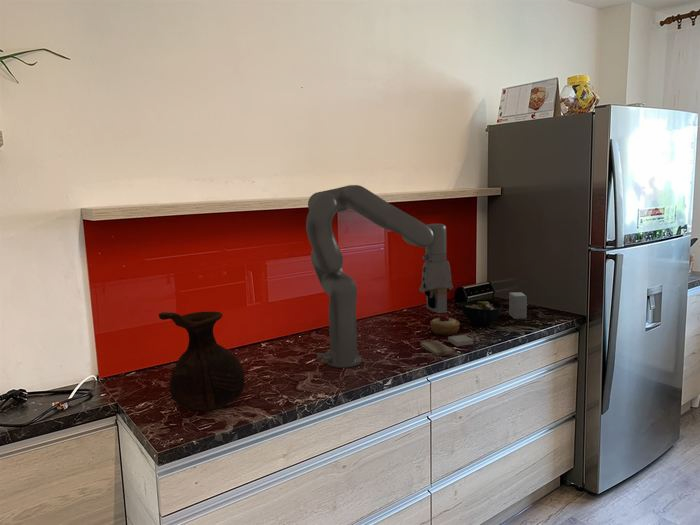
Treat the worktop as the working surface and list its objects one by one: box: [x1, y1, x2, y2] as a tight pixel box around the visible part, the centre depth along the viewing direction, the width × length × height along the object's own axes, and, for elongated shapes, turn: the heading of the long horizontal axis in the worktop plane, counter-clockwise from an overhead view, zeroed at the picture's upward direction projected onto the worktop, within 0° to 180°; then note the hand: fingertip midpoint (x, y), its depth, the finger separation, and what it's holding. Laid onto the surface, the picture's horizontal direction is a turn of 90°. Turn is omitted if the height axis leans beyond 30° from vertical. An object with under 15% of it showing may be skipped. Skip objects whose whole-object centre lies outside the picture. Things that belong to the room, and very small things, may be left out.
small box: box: [508, 291, 528, 320], centre depth 238 cm, size 8×6×10 cm
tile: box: [447, 334, 474, 347], centre depth 204 cm, size 2×7×7 cm
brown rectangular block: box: [425, 288, 448, 314], centre depth 194 cm, size 4×9×9 cm, turn 19°
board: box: [420, 340, 455, 357], centre depth 197 cm, size 7×13×1 cm, turn 19°
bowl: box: [460, 299, 503, 327], centre depth 228 cm, size 17×17×10 cm
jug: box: [158, 311, 246, 412], centre depth 153 cm, size 22×22×30 cm
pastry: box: [430, 310, 460, 337], centre depth 218 cm, size 12×12×9 cm
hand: (436, 306), depth 194 cm, fingers closed on brown rectangular block, 3 cm apart
